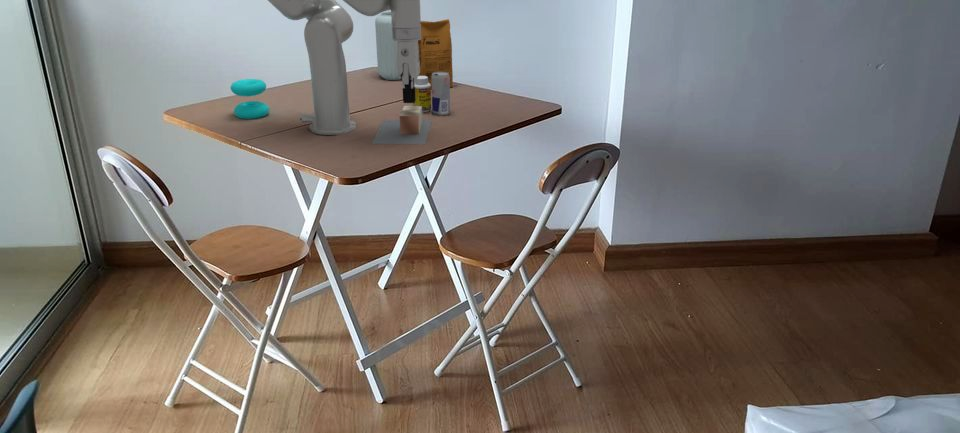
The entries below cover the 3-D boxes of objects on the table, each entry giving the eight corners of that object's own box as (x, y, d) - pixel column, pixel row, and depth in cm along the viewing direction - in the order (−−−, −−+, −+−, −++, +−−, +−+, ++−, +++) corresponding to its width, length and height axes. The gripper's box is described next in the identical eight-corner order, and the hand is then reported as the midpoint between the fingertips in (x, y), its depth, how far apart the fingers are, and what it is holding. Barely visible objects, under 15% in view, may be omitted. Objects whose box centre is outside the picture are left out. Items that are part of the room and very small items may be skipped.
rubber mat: (371, 145, 193) (371, 143, 193) (384, 120, 213) (383, 119, 213) (425, 145, 192) (424, 144, 192) (432, 121, 212) (432, 119, 212)
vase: (397, 83, 254) (393, 17, 245) (371, 78, 260) (367, 14, 251) (417, 76, 263) (415, 12, 254) (392, 72, 269) (389, 9, 259)
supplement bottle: (418, 114, 219) (417, 80, 215) (409, 109, 223) (408, 76, 219) (434, 111, 222) (433, 77, 218) (425, 107, 226) (424, 74, 222)
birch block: (399, 116, 198) (404, 106, 207) (400, 133, 200) (404, 123, 209) (418, 116, 198) (421, 106, 207) (418, 134, 200) (422, 123, 209)
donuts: (267, 77, 220) (263, 85, 211) (271, 109, 224) (267, 119, 215) (232, 78, 218) (227, 86, 209) (237, 111, 222) (232, 120, 213)
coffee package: (413, 83, 253) (410, 18, 244) (448, 81, 256) (447, 16, 247) (418, 90, 244) (415, 23, 235) (454, 88, 247) (453, 21, 238)
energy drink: (433, 110, 222) (432, 71, 217) (450, 111, 222) (450, 71, 217) (431, 115, 217) (430, 75, 212) (449, 116, 217) (448, 75, 212)
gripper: (418, 39, 185) (420, 110, 192) (423, 28, 198) (425, 95, 206) (388, 38, 185) (391, 109, 192) (396, 28, 198) (399, 95, 206)
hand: (409, 102), depth 199 cm, fingers closed
